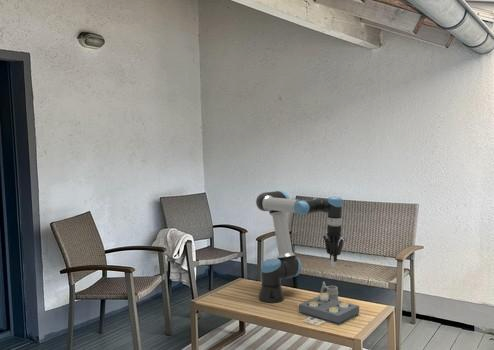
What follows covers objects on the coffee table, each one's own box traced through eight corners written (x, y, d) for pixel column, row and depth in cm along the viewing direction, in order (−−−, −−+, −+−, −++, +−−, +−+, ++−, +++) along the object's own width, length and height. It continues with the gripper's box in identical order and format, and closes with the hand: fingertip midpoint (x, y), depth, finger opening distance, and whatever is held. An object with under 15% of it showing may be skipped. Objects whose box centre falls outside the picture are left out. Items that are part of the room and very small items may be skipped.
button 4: (337, 313, 264) (337, 303, 264) (342, 310, 268) (342, 301, 267) (345, 315, 261) (345, 305, 261) (350, 312, 264) (350, 303, 264)
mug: (334, 307, 276) (334, 286, 275) (317, 302, 284) (316, 282, 283) (341, 303, 282) (341, 283, 281) (324, 299, 290) (324, 279, 289)
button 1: (307, 312, 266) (307, 302, 266) (312, 309, 270) (312, 300, 269) (314, 314, 263) (314, 304, 262) (319, 311, 266) (319, 302, 266)
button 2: (318, 302, 273) (318, 293, 273) (323, 300, 277) (323, 291, 276) (325, 304, 270) (325, 295, 269) (330, 302, 273) (330, 293, 273)
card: (302, 321, 255) (302, 320, 255) (310, 317, 260) (310, 316, 260) (317, 326, 248) (317, 324, 248) (325, 322, 253) (325, 321, 253)
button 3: (327, 318, 257) (327, 308, 257) (332, 315, 261) (332, 306, 260) (334, 320, 254) (334, 310, 253) (339, 317, 257) (339, 308, 257)
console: (298, 313, 267) (298, 304, 267) (319, 304, 281) (319, 295, 281) (338, 325, 249) (338, 315, 249) (359, 314, 263) (359, 305, 263)
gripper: (320, 224, 267) (319, 265, 270) (340, 227, 258) (339, 270, 261) (328, 222, 273) (327, 263, 275) (348, 225, 264) (346, 267, 266)
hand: (333, 266), depth 268 cm, fingers closed
